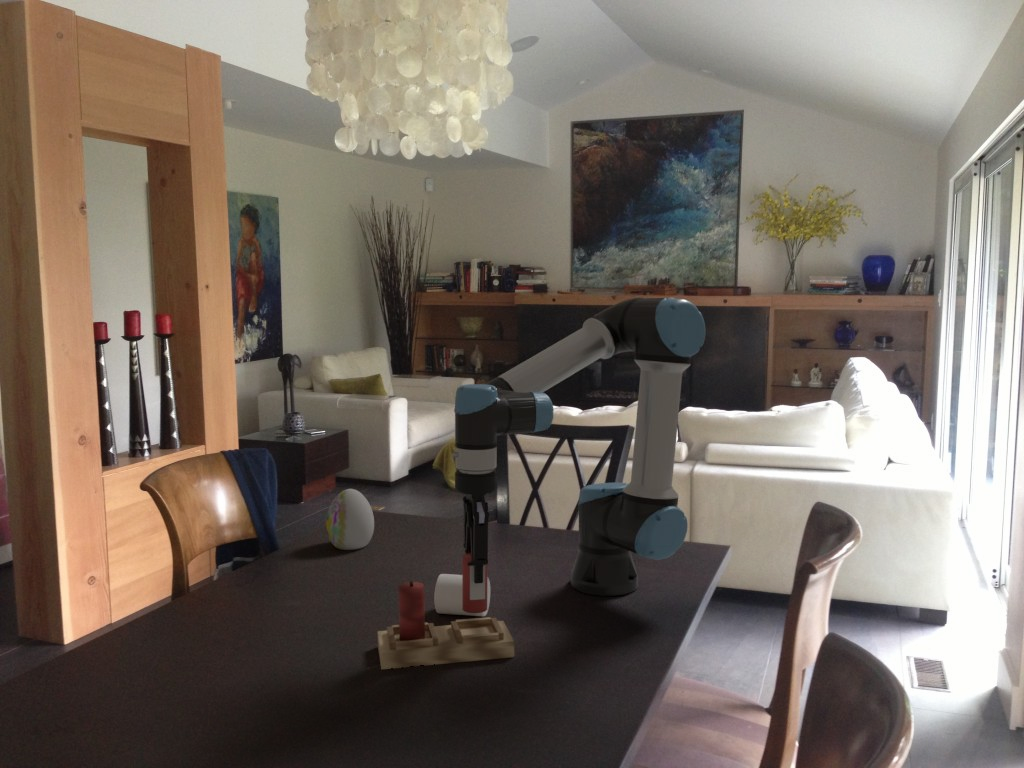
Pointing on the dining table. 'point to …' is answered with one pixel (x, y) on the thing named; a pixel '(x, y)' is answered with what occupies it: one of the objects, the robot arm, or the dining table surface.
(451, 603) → the mug
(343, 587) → the dining table surface
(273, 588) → the dining table surface
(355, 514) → the decorative egg
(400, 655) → the oak candlestand
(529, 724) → the dining table surface
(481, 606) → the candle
